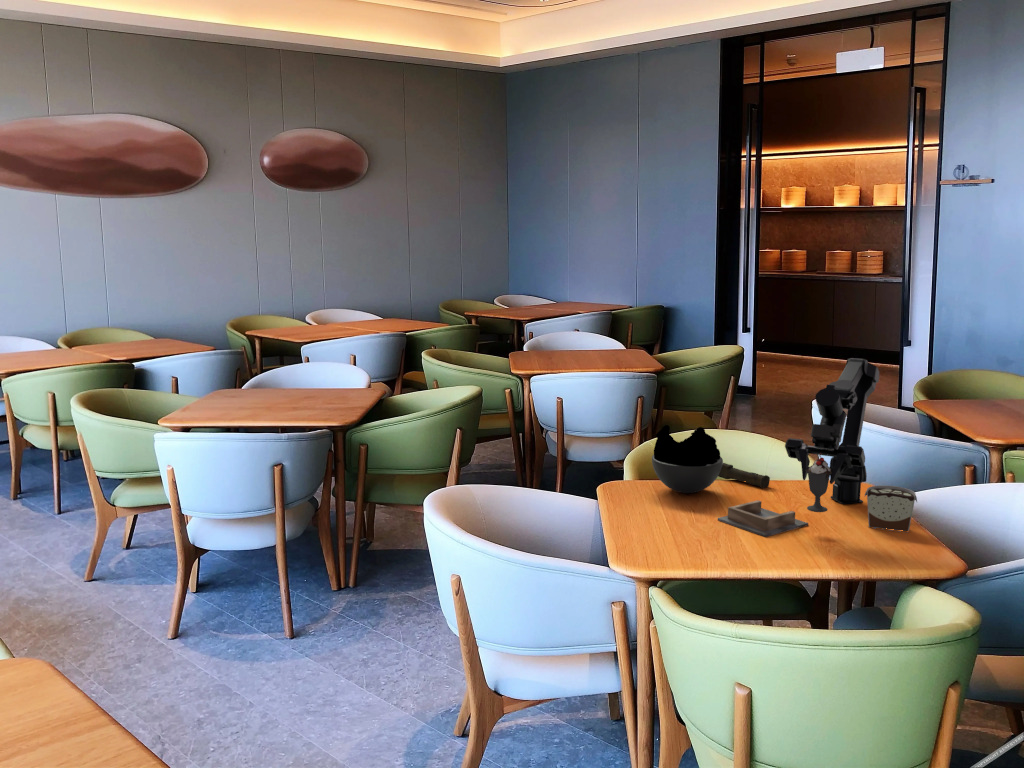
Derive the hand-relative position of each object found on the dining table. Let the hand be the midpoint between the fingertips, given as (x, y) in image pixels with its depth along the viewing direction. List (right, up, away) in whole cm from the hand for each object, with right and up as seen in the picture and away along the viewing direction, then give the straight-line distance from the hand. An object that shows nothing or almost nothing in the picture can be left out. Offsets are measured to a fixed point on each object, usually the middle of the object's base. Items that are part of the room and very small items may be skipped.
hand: (817, 481), depth 231 cm
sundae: (+1, -7, +2) cm, 8 cm away
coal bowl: (-25, -7, +38) cm, 47 cm away
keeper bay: (-11, -12, +10) cm, 19 cm away
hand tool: (-7, -6, +49) cm, 50 cm away
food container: (+21, -12, +7) cm, 25 cm away
